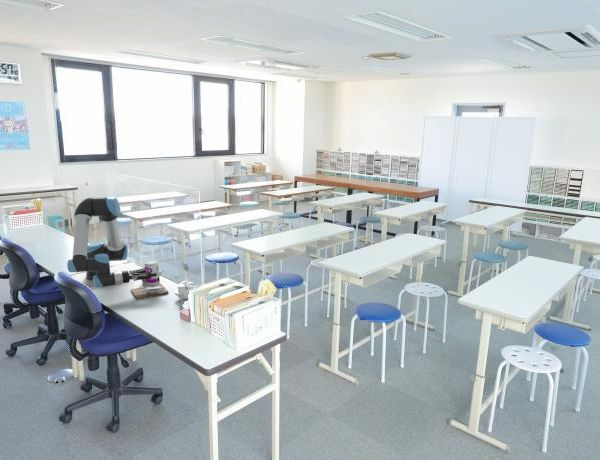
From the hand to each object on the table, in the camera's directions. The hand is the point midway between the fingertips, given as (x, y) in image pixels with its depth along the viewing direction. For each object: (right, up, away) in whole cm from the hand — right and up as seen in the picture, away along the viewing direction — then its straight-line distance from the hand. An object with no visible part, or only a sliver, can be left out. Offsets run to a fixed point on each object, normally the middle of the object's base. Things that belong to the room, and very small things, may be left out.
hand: (159, 271), depth 280 cm
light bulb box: (-12, -9, +19) cm, 24 cm away
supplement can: (-4, -9, 0) cm, 10 cm away
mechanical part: (+18, -16, -11) cm, 27 cm away
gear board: (-6, -13, -1) cm, 15 cm away
